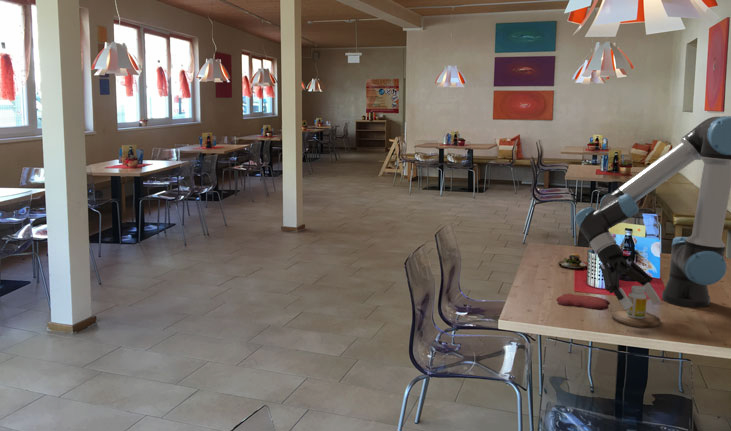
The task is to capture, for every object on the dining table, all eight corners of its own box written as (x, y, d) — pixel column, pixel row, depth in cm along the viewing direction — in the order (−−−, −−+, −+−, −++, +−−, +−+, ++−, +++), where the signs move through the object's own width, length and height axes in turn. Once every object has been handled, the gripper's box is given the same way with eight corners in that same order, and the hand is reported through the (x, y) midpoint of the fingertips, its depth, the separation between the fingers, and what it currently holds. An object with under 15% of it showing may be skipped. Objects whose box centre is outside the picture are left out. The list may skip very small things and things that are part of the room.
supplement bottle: (624, 316, 197) (626, 287, 195) (630, 312, 201) (632, 284, 199) (641, 320, 193) (644, 290, 192) (647, 316, 197) (650, 287, 196)
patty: (554, 306, 213) (554, 300, 213) (558, 295, 226) (558, 290, 225) (608, 312, 206) (609, 306, 206) (609, 301, 219) (610, 296, 219)
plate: (639, 312, 206) (639, 308, 206) (669, 325, 192) (670, 321, 192) (602, 315, 202) (603, 311, 202) (631, 329, 189) (632, 324, 189)
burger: (552, 265, 272) (553, 248, 271) (573, 263, 277) (574, 247, 276) (572, 271, 261) (573, 254, 260) (593, 269, 266) (594, 252, 265)
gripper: (624, 252, 214) (659, 305, 203) (573, 259, 201) (609, 316, 191) (638, 239, 208) (676, 293, 198) (588, 246, 196) (625, 304, 186)
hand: (643, 305), depth 194 cm, fingers open, 13 cm apart
